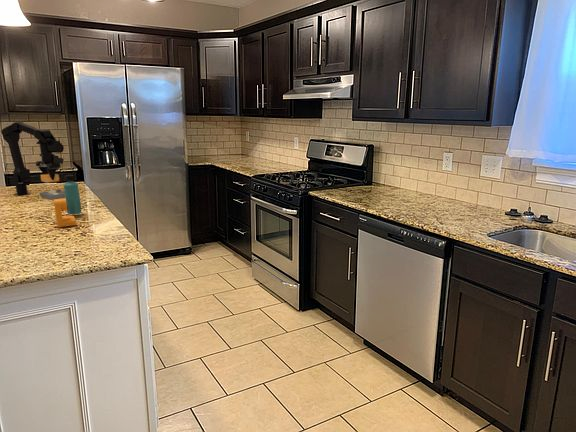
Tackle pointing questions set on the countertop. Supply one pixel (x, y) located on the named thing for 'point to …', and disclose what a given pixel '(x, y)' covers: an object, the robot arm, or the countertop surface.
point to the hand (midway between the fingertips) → (50, 179)
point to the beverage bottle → (72, 196)
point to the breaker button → (51, 191)
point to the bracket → (61, 221)
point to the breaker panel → (56, 195)
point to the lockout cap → (49, 178)
